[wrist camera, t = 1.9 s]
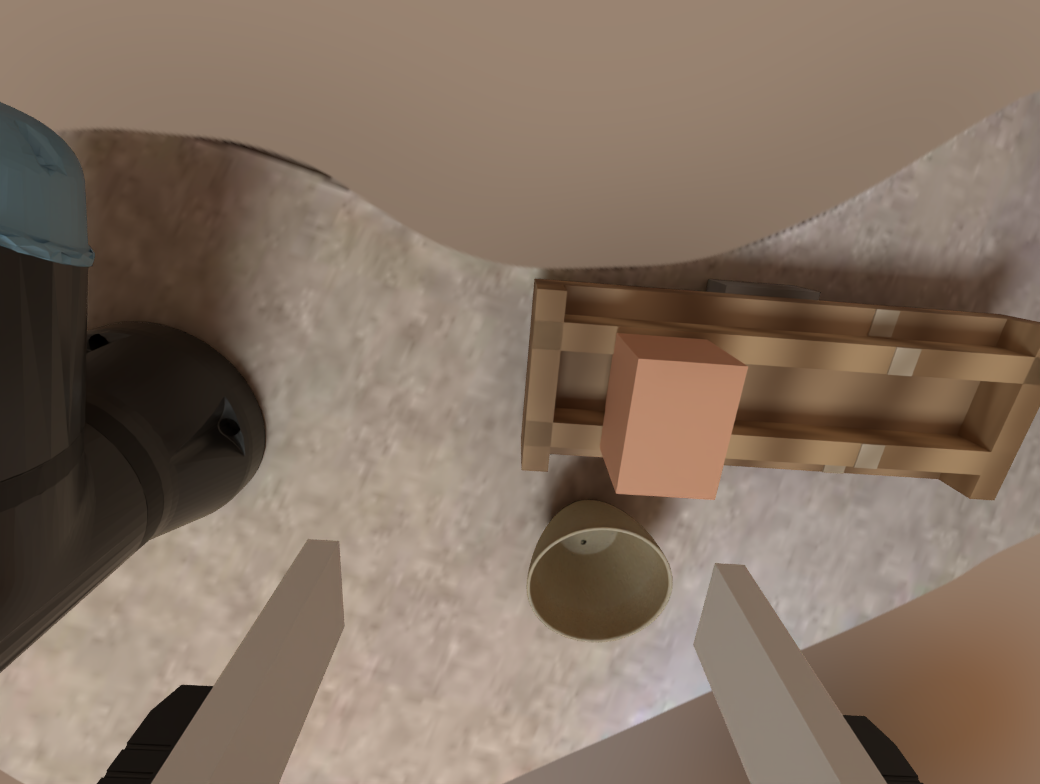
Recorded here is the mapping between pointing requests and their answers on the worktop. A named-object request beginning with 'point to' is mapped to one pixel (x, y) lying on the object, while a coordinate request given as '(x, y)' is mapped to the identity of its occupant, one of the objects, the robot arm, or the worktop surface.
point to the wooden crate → (800, 378)
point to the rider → (669, 415)
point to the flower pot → (597, 574)
